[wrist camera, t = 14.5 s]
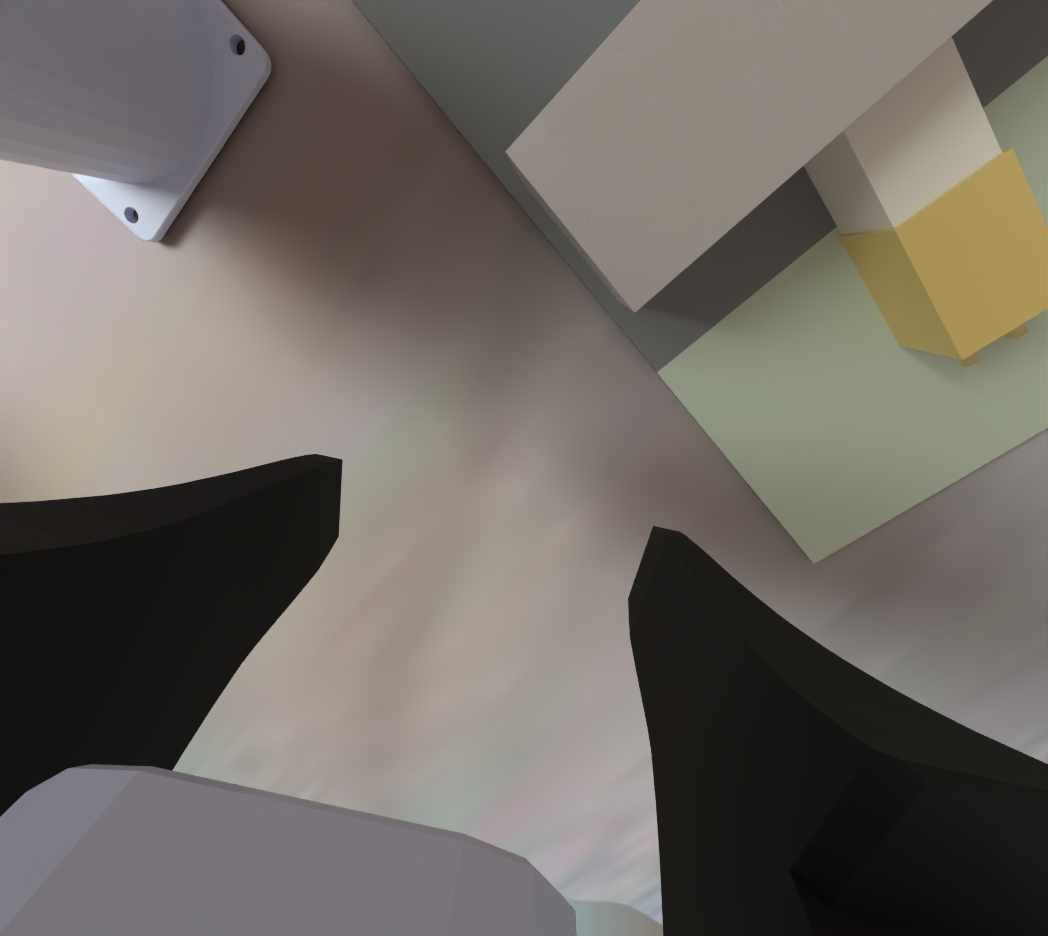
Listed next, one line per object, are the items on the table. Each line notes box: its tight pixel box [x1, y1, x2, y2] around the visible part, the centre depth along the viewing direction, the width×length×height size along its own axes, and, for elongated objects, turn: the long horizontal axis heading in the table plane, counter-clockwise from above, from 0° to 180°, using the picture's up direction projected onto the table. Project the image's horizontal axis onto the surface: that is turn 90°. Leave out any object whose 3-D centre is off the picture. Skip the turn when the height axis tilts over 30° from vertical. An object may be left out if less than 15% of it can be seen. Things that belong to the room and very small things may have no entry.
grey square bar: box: [506, 0, 993, 313], centre depth 12 cm, size 5×15×5 cm, turn 132°
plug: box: [804, 36, 1048, 367], centre depth 14 cm, size 16×3×3 cm, turn 39°
